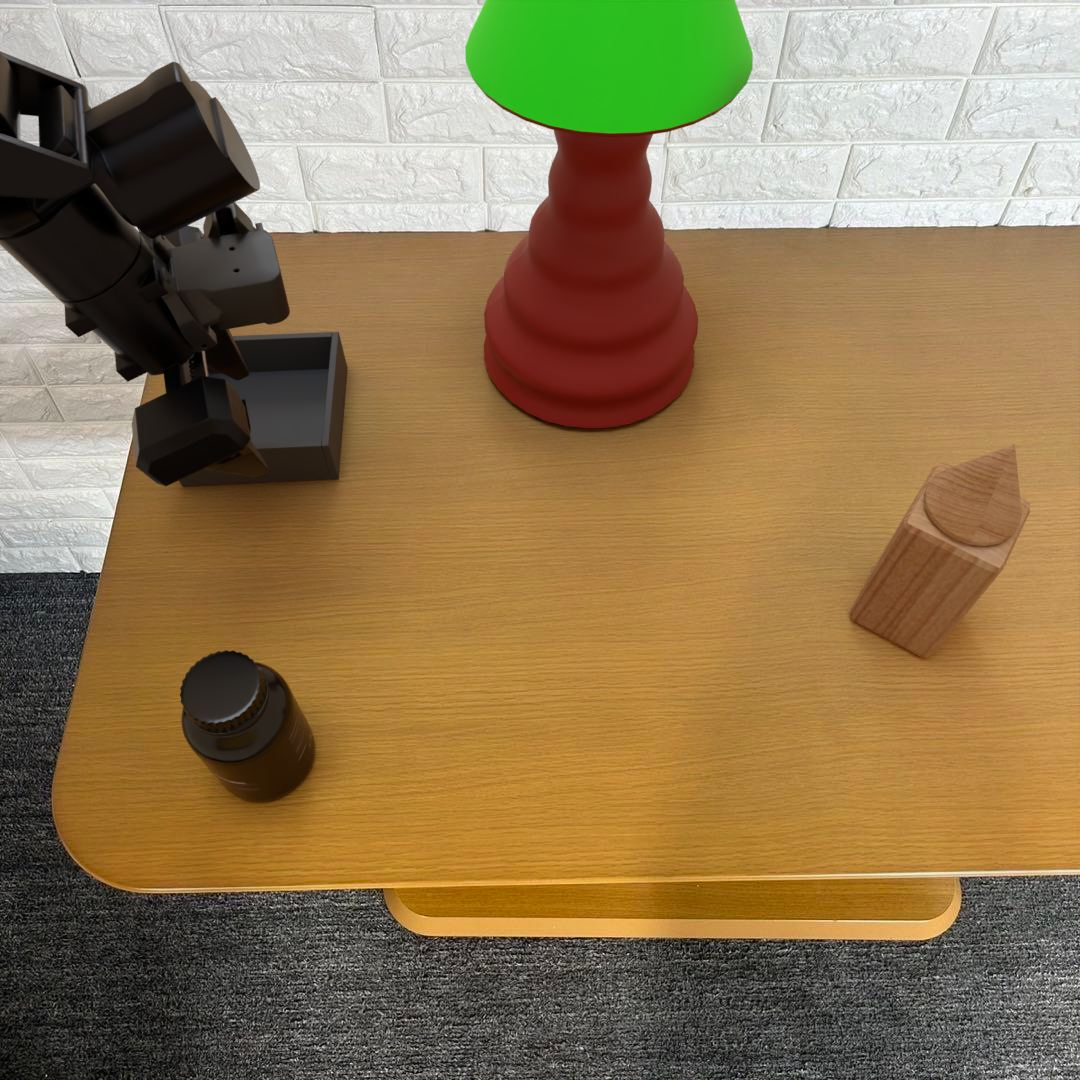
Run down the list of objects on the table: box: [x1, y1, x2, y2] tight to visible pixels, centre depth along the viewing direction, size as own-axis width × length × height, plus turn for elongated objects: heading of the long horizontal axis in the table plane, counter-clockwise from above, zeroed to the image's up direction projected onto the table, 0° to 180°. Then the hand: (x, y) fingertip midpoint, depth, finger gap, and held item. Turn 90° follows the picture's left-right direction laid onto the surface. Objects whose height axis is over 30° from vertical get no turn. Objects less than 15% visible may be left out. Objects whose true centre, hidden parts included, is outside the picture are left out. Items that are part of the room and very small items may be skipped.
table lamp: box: [464, 0, 754, 429], centre depth 66 cm, size 20×20×45 cm
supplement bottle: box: [179, 649, 316, 803], centre depth 58 cm, size 7×7×12 cm
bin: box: [178, 331, 348, 487], centre depth 78 cm, size 13×13×4 cm
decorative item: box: [849, 443, 1031, 659], centre depth 61 cm, size 7×7×20 cm
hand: (252, 422), depth 62 cm, fingers open, 9 cm apart
